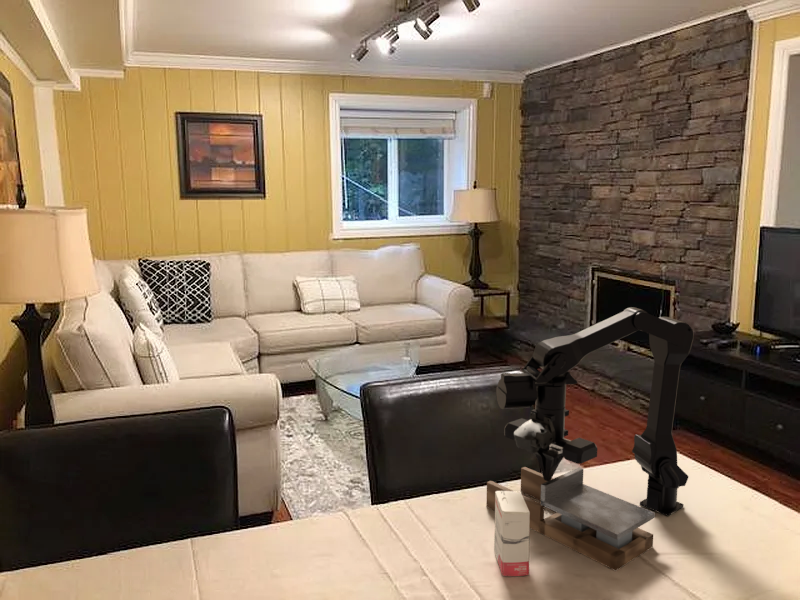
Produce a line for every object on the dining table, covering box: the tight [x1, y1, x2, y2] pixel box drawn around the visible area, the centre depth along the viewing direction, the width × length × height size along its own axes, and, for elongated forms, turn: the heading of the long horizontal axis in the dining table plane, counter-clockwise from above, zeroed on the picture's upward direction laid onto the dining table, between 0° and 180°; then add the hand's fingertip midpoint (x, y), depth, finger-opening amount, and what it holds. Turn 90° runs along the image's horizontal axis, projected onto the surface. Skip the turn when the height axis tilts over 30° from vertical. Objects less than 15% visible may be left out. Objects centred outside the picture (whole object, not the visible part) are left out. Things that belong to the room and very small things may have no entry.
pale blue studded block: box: [561, 515, 590, 532], centre depth 126 cm, size 4×4×6 cm
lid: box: [540, 466, 656, 540], centre depth 122 cm, size 12×17×4 cm
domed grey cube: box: [596, 531, 632, 549], centre depth 120 cm, size 4×4×6 cm
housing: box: [485, 466, 654, 571], centre depth 129 cm, size 12×31×5 cm, turn 39°
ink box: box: [493, 490, 530, 577], centre depth 115 cm, size 9×5×12 cm, turn 1°
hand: (547, 480), depth 131 cm, fingers closed
